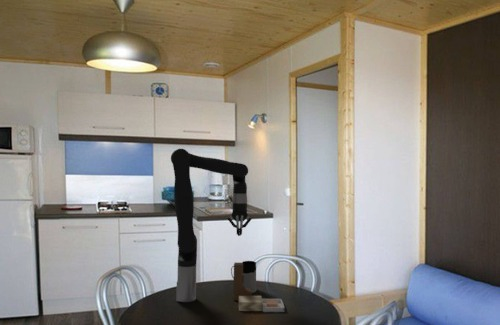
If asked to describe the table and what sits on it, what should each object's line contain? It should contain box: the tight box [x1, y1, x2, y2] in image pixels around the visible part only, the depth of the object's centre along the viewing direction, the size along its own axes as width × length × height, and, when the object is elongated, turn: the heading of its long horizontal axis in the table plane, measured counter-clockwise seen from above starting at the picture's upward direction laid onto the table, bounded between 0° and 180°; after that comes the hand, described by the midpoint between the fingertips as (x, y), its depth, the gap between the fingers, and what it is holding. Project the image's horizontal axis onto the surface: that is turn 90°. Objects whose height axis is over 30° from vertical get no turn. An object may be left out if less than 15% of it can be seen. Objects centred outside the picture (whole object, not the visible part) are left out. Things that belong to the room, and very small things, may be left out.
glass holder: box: [230, 260, 257, 294], centre depth 207 cm, size 9×14×15 cm, turn 102°
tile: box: [266, 301, 278, 307], centre depth 183 cm, size 5×5×2 cm
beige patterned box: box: [238, 295, 263, 312], centre depth 182 cm, size 11×9×4 cm
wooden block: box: [232, 262, 253, 302], centre depth 193 cm, size 9×4×18 cm, turn 89°
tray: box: [262, 298, 286, 313], centre depth 183 cm, size 10×12×2 cm
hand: (239, 235), depth 199 cm, fingers closed
